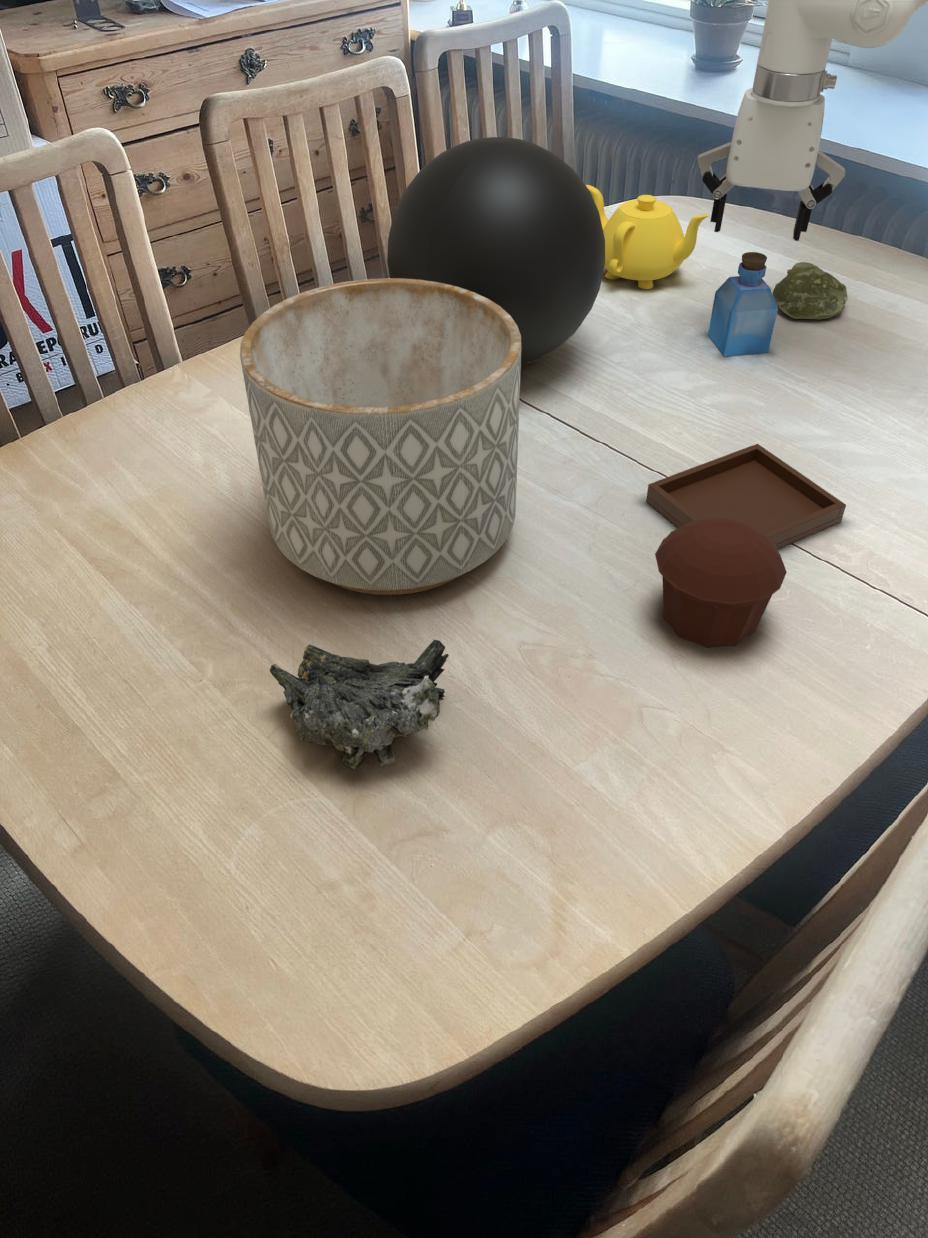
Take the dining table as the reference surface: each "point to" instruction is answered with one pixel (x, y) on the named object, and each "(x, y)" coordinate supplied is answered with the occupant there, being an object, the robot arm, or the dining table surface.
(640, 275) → the teapot
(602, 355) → the dining table surface
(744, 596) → the muffin
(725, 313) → the perfume bottle
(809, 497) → the tray
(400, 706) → the mineral specimen
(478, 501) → the planter
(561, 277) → the ball
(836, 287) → the olive green rounded lump
